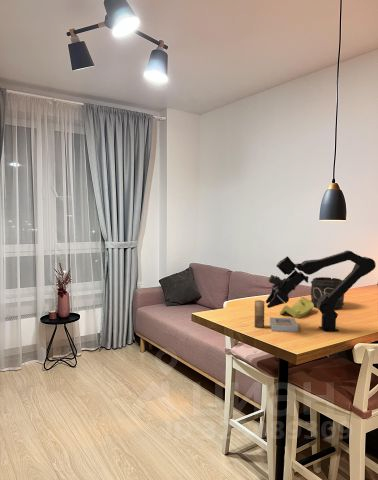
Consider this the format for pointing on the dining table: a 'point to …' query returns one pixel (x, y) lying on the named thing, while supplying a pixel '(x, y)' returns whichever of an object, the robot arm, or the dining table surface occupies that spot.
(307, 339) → the dining table surface
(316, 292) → the patterned black pot
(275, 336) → the dining table surface
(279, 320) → the hole plate
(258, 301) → the walnut peg
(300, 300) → the plastic component
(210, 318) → the dining table surface
